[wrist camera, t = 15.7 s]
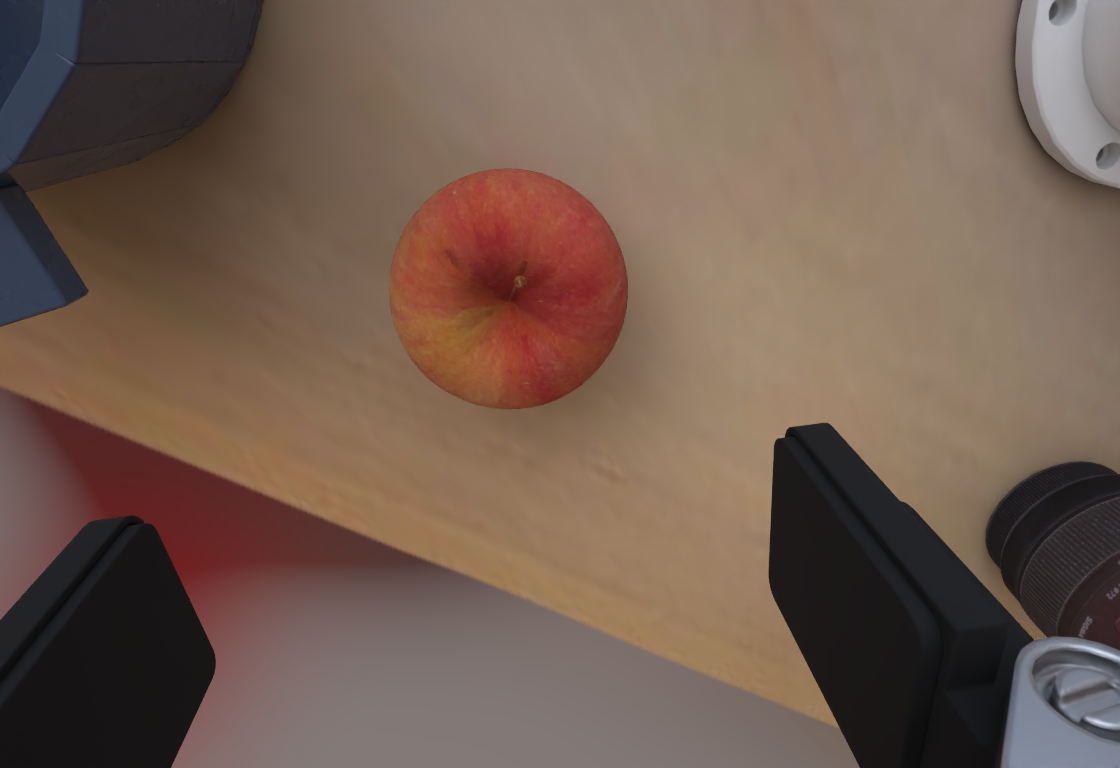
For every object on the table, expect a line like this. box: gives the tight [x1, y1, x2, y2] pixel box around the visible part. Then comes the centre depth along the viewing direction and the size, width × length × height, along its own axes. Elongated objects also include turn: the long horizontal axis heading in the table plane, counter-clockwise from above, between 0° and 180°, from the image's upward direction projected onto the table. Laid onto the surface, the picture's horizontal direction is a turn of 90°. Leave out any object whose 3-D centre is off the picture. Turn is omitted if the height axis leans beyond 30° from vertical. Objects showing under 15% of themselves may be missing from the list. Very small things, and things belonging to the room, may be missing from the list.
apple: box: [389, 169, 628, 409], centre depth 21 cm, size 7×7×8 cm
